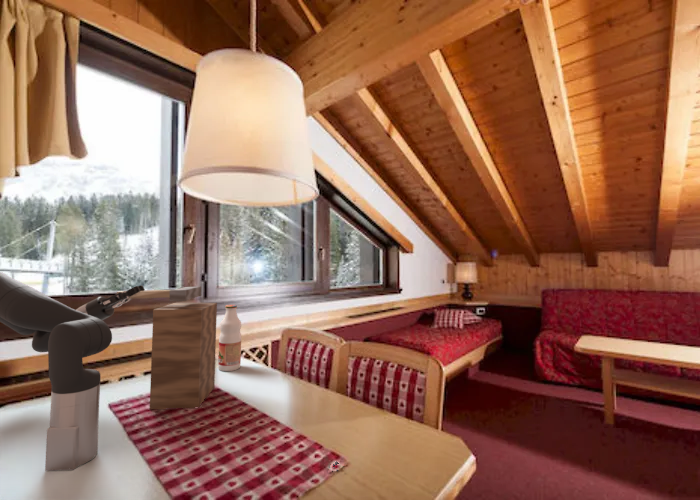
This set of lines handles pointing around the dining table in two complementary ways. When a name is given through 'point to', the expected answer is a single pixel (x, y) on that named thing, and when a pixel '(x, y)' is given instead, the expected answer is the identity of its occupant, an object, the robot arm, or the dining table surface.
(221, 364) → the fruit juice
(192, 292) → the scraper
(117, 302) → the robot arm
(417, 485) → the dining table surface
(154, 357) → the stand
